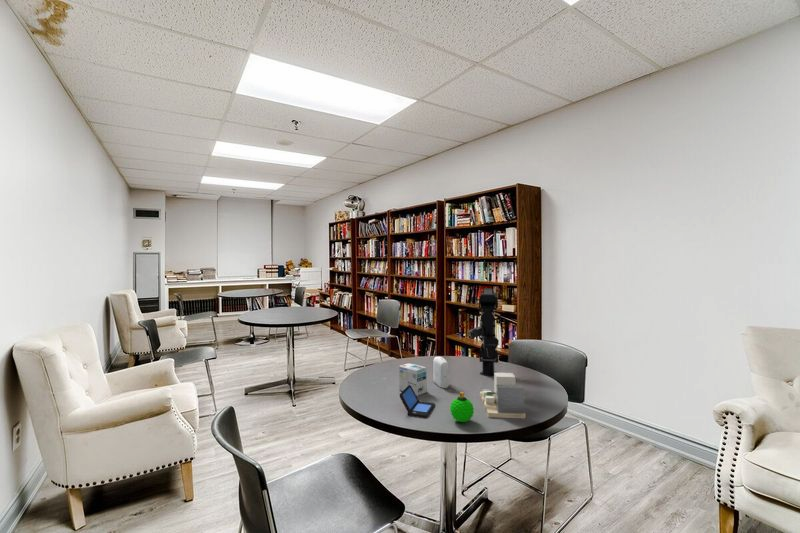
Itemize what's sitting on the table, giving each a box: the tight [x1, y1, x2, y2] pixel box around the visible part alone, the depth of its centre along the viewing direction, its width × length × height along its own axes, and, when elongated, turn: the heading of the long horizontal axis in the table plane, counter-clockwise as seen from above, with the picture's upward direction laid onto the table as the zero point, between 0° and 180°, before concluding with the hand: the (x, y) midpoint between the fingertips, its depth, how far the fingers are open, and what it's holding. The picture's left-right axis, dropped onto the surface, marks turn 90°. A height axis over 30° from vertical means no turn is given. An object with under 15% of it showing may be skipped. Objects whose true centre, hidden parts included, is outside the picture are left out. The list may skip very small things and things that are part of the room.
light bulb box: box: [398, 362, 428, 397], centre depth 154 cm, size 11×7×11 cm, turn 47°
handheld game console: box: [399, 385, 436, 419], centre depth 134 cm, size 12×11×7 cm
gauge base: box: [479, 389, 527, 419], centre depth 138 cm, size 22×13×4 cm, turn 175°
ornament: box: [449, 391, 475, 423], centre depth 124 cm, size 8×8×10 cm
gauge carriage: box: [487, 372, 516, 401], centre depth 137 cm, size 8×10×10 cm
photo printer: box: [432, 356, 450, 389], centre depth 162 cm, size 10×4×12 cm, turn 17°
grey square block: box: [496, 384, 525, 413], centre depth 129 cm, size 3×9×9 cm, turn 85°
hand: (487, 356), depth 160 cm, fingers open, 9 cm apart
